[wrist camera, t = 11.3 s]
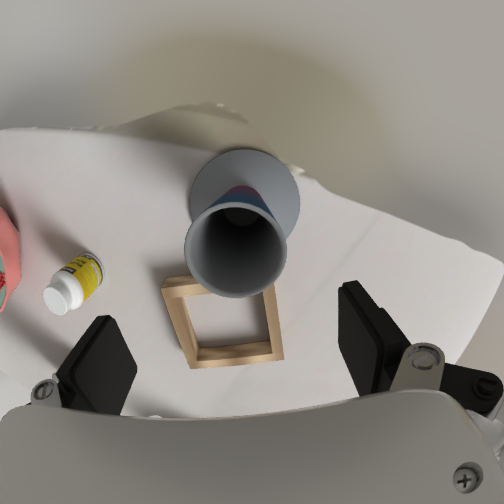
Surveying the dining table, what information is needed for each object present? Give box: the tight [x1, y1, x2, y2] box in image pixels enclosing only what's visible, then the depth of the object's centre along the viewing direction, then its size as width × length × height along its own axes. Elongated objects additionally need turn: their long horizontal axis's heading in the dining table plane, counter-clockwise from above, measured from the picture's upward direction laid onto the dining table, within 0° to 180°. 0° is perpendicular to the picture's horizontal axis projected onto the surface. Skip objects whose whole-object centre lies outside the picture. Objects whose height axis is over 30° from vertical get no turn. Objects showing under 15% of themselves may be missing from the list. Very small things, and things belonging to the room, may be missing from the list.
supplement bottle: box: [43, 253, 104, 315], centre depth 31 cm, size 5×5×10 cm
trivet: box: [190, 149, 300, 239], centre depth 32 cm, size 13×13×1 cm
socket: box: [161, 275, 284, 369], centre depth 37 cm, size 14×14×3 cm
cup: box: [184, 186, 287, 298], centre depth 25 cm, size 7×7×15 cm
